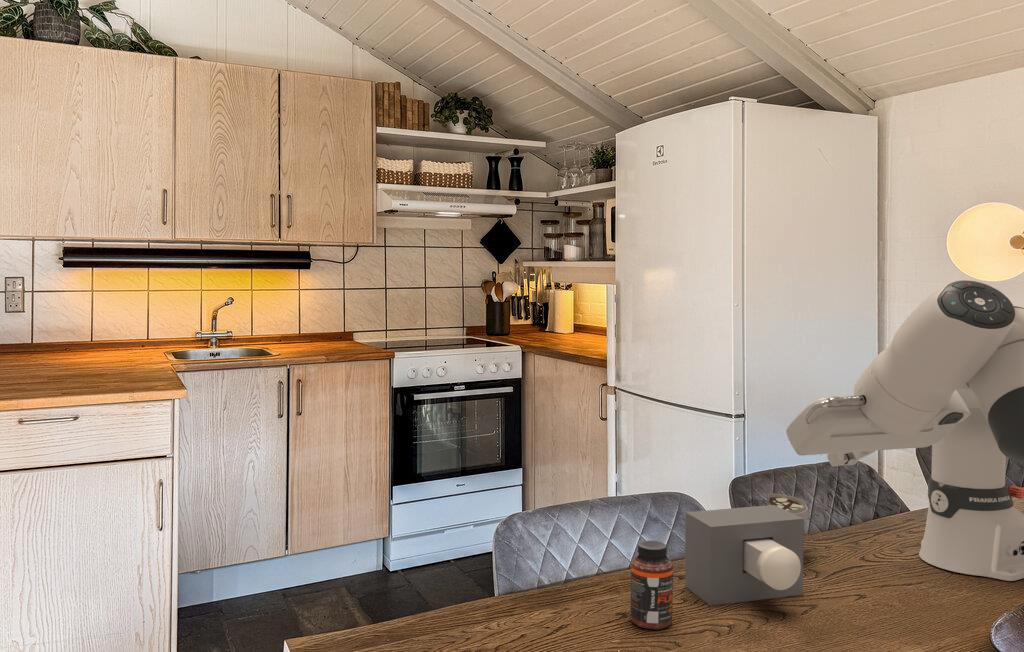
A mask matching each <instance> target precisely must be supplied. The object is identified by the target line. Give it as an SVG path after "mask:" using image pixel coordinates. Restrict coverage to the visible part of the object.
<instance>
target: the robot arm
mask: <svg viewBox="0 0 1024 652" xmlns="http://www.w3.org/2000/svg"><path fill="white" fill-rule="evenodd" d="M785 433H786V437H787V439H788V441H789V443H790V445H791V447H792V448H793V451H795V453H796V454H797V455H798V456H801V457H802V456H816V455H827V460H828V462H829V464H830V466H831V467H842V466H855V465H856V464H857V463H858V462H859V460H860V459H861V460H862V459H863V458H865V457H867V456H869V455H872V454H873V453H875V452H877V451H889V450H890V451H891V450H902V449H903V450H905V449H920V448H928V447H930V446H931V476H930V477H929V478H928V482H927V483H928V484H927V498H928V502H929V505H928V509H927V516H926V523H925V528H924V534H923V539H922V540H921V542H920V546H921V547H920V550H919V553H918V557H919V558H920V559H921V560H923V561H924V562H926V563H927V564H930V566H931V565H932V566H935V567H937V568H939V569H943V570H947V571H950V572H953V573H960V574H963V575H970V576H980V577H985V578H986V577H987V578H992V579H996V580H997V579H998V580H1001V581H1006V582H1007V581H1008V582H1013V581H1018V580H1021V579H1024V514H1023V512H1021V511H1020V510H1018V509H1017V508H1016V507H1015V506H1014V501H1013V497H1014V498H1016V499H1018V500H1024V487H1022V486H1021V487H1020V486H1017V485H1015V484H1014V485H1010V486H1008V485H1007V484H1006V472H1007V471H1006V467H1007V466H1006V465H1007V458H1008V459H1010V460H1013V461H1014V462H1017V463H1020V464H1022V465H1024V307H1021V306H1015V305H1014V304H1013V303H1012V301H1011V300H1010V299H1009V298H1008V297H1007V296H1006V295H1005V294H1004V293H1003V292H1001V291H1000V290H998V289H997V288H995V287H993V286H991V285H988V284H986V283H983V282H981V281H980V282H979V281H975V280H966V279H965V280H964V279H962V280H955V281H950V282H949V283H947V284H945V285H943V286H942V287H940V288H939V289H937V290H936V291H934V292H933V293H931V294H930V295H929V296H928V297H926V298H925V299H924V301H922V302H921V303H920V304H919V305H918V306H917V307H916V308H915V309H914V310H913V312H911V313H910V315H909V316H908V317H907V318H906V319H905V320H904V321H903V323H902V324H901V325H900V326H899V328H898V329H897V330H896V332H895V333H894V335H893V338H892V340H891V344H890V345H888V347H887V348H885V349H883V350H882V351H881V352H880V353H878V354H877V355H876V357H875V358H874V359H873V361H872V362H871V363H870V364H869V365H868V367H867V368H866V369H865V370H864V371H863V373H862V374H861V375H860V376H859V378H858V379H857V380H856V382H855V384H854V386H853V395H847V396H846V395H844V396H842V395H841V396H827V397H826V396H825V397H821V398H818V399H816V400H814V401H812V402H810V403H809V404H808V405H807V406H806V407H805V408H804V409H803V410H802V411H801V412H800V413H798V414H797V416H796V417H795V418H793V420H792V421H791V422H790V423H789V425H788V426H787V427H786V432H785Z"/></svg>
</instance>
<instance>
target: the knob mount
mask: <svg viewBox="0 0 1024 652" xmlns="http://www.w3.org/2000/svg"><path fill="white" fill-rule="evenodd" d="M804 536H805V526H804V518H801V517H799V516H797V515H795V514H793V513H791V512H788V511H786V510H784V509H782V508H780V507H777V506H775V505H759V506H758V505H757V506H756V505H755V506H744V507H734V508H733V507H731V508H719V509H710V510H698V511H697V510H696V511H695V510H694V511H686V512H685V535H684V537H685V544H684V545H685V546H684V547H685V549H684V550H685V551H684V552H685V555H684V556H685V557H684V559H685V562H684V564H685V565H684V587H685V588H687V589H688V590H690V592H692V594H694V595H696V596H697V597H698V598H700V599H701V600H702V601H703V602H705V603H706V604H707V605H708V606H712V607H713V606H719V605H728V604H737V603H745V602H751V601H752V602H753V601H754V602H755V601H761V600H770V599H778V598H787V597H796V596H803V594H804V593H803V592H804V548H805V546H804V541H805V540H804V539H805V538H804ZM766 537H767V538H769V539H770V540H772V541H774V542H776V543H778V544H780V545H782V546H784V547H785V548H787V549H789V550H791V551H793V552H794V553H795V554H796V555H797V556H798V558H799V560H800V564H801V571H800V575H799V577H798V579H797V581H796V582H795V583H794V584H793V585H792V586H791V587H790V588H788V589H785V590H776V589H774V588H772V587H770V586H769V585H767V584H766V583H764V582H763V581H760V580H759V579H757V578H756V577H754V576H752V575H751V574H749V573H748V572H746V571H745V570H743V540H746V539H756V538H766Z"/></svg>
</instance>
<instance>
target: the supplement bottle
mask: <svg viewBox="0 0 1024 652" xmlns="http://www.w3.org/2000/svg"><path fill="white" fill-rule="evenodd" d="M637 544H638V545H637V553H638V554H637V555H636V556H634V558H633V559H632V560H631V562H630V563H631V564H630V568H631V569H630V620H631V622H632V623H633V624H635V625H636V626H637V627H640V628H641V629H642V628H643V629H647V630H653V631H654V630H663V629H666V628H668V627H670V626H671V624H672V622H673V613H674V612H673V604H674V603H673V600H674V599H673V596H674V594H673V593H674V591H673V590H674V564H673V562H672V561H671V559H669V558H668V556H667V554H668V552H667V551H668V550H667V544H665V543H664V542H663V541H658V540H643V541H642V540H641V541H639V542H638V543H637Z"/></svg>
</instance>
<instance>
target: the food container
mask: <svg viewBox="0 0 1024 652" xmlns="http://www.w3.org/2000/svg"><path fill="white" fill-rule="evenodd" d="M767 496H768V497H767V504H768V505H775V506H777V507H780V508H782V509H784V510H786V511H788V512H791V513H793V514H795V515H797V516H799V517H801V518H804V527H805V526H806V525H805V524H806V521H807V520H808V519H809V518H810V513H809V509H808V506H807V503H806V501H804V500H803V499H800V498H798V497H795V496H792V495H786V494H782V493H781V494H780V493H768V495H767Z"/></svg>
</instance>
